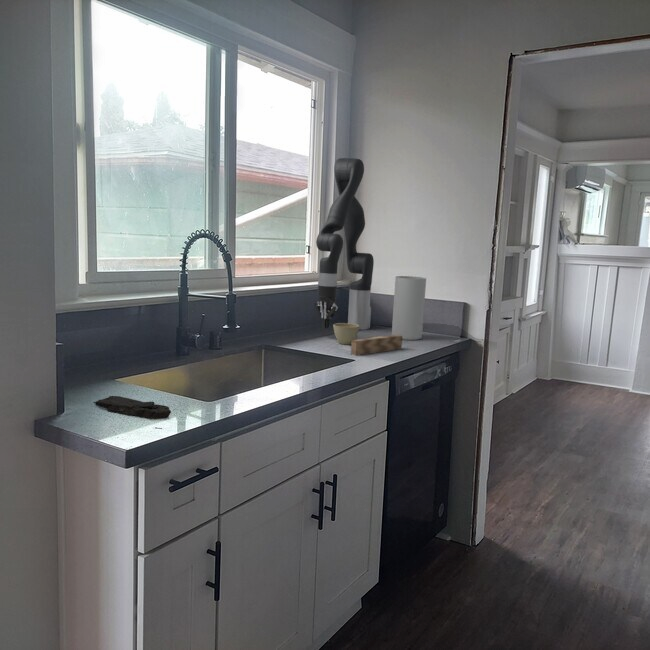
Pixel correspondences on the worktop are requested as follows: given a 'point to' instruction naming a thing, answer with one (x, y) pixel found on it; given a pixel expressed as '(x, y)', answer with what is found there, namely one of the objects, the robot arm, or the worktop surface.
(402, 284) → the cylinder vase
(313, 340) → the worktop surface
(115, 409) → the wood
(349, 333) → the flower pot
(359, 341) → the board
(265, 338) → the worktop surface
